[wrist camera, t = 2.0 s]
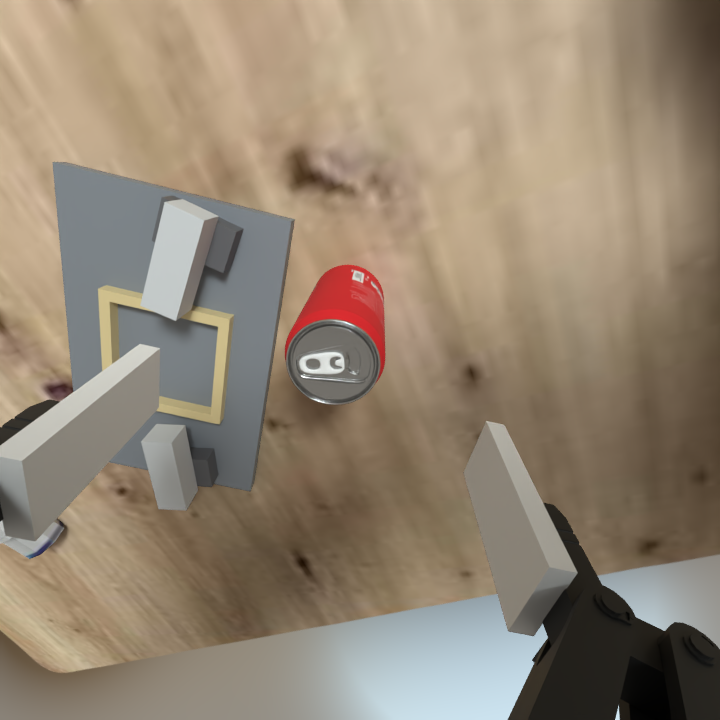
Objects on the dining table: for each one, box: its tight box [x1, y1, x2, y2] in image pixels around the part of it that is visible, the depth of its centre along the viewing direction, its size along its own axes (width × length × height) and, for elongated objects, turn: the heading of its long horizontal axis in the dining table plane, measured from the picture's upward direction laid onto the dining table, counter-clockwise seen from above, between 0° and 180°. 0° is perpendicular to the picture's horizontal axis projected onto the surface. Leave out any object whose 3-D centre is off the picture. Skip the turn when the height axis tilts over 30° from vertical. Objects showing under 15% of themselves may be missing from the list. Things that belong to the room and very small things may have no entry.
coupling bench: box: [53, 162, 295, 511], centre depth 31 cm, size 25×16×5 cm, turn 167°
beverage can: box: [285, 265, 385, 405], centre depth 25 cm, size 5×5×12 cm
